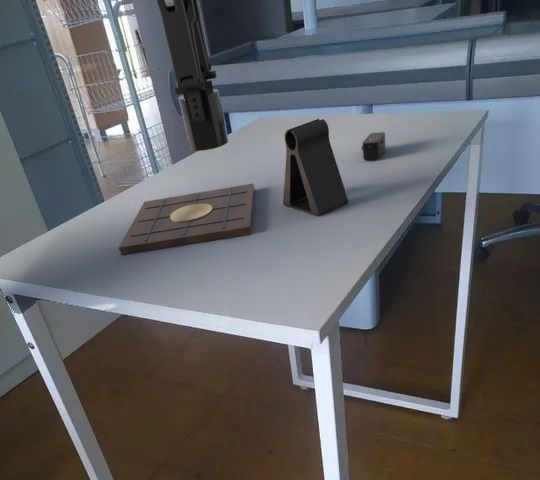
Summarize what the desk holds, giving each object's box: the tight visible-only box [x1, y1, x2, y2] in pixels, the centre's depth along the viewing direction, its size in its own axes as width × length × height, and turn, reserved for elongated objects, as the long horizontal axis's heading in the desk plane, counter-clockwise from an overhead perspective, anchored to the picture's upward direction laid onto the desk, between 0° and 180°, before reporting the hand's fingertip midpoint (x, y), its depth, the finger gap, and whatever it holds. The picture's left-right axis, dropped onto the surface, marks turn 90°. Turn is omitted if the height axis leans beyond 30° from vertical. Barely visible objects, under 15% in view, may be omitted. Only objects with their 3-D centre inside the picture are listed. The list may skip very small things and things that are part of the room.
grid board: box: [118, 183, 256, 255], centre depth 89 cm, size 20×20×1 cm
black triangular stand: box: [282, 118, 349, 217], centre depth 82 cm, size 9×6×12 cm, turn 36°
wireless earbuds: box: [360, 131, 386, 162], centre depth 101 cm, size 5×7×3 cm, turn 156°
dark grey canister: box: [177, 88, 229, 152], centre depth 68 cm, size 5×5×6 cm
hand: (209, 141), depth 69 cm, fingers closed on dark grey canister, 5 cm apart
